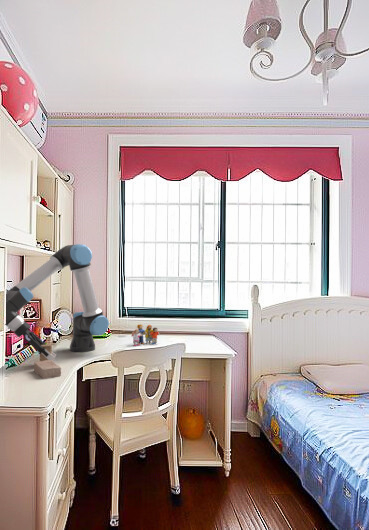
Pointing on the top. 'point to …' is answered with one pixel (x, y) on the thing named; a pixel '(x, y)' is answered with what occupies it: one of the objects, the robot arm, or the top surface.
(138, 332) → the doll family
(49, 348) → the walnut block
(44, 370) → the brick
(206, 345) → the top surface
